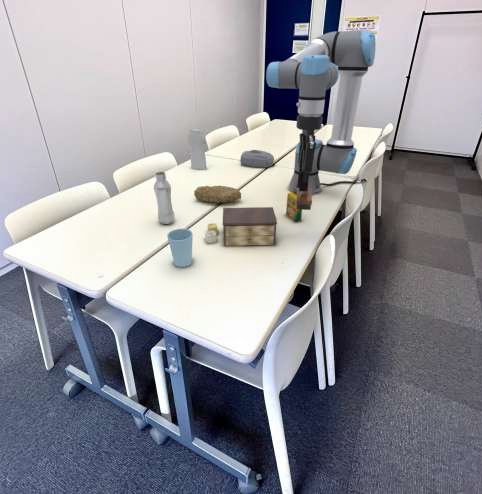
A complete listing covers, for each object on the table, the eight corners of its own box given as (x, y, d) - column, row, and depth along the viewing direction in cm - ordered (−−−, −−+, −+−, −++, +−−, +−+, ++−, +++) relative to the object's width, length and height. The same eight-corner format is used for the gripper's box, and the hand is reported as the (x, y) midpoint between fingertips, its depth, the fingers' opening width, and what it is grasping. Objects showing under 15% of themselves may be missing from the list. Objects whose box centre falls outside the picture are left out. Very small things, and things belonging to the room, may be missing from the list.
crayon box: (285, 215, 133) (287, 188, 127) (291, 213, 134) (293, 187, 128) (294, 222, 127) (297, 195, 121) (301, 221, 128) (304, 193, 122)
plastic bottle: (161, 227, 124) (154, 177, 114) (156, 220, 129) (149, 172, 119) (177, 223, 127) (171, 174, 116) (172, 217, 132) (166, 169, 121)
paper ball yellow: (207, 223, 120) (207, 231, 121) (207, 228, 117) (208, 235, 118) (216, 222, 120) (216, 230, 122) (217, 227, 117) (217, 234, 119)
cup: (166, 261, 104) (162, 233, 98) (186, 253, 108) (183, 226, 102) (178, 272, 99) (175, 243, 93) (199, 263, 103) (197, 235, 98)
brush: (310, 197, 115) (313, 160, 108) (311, 210, 106) (314, 170, 99) (296, 197, 116) (298, 160, 109) (295, 209, 107) (298, 170, 100)
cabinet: (271, 228, 123) (272, 207, 118) (276, 246, 111) (277, 223, 107) (223, 229, 123) (223, 207, 118) (223, 247, 111) (222, 224, 106)
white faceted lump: (204, 231, 114) (205, 239, 116) (207, 236, 111) (207, 244, 113) (214, 229, 115) (214, 237, 117) (217, 234, 113) (217, 242, 114)
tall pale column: (189, 168, 187) (185, 129, 176) (192, 166, 190) (189, 127, 179) (205, 170, 184) (202, 130, 172) (208, 168, 187) (206, 129, 175)
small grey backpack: (238, 166, 190) (270, 170, 184) (237, 152, 185) (271, 155, 179) (246, 159, 202) (277, 162, 196) (246, 146, 197) (277, 148, 192)
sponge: (193, 204, 145) (229, 204, 135) (190, 187, 143) (228, 186, 133) (210, 200, 156) (245, 199, 146) (208, 183, 154) (244, 182, 144)
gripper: (293, 110, 103) (287, 181, 115) (302, 119, 89) (295, 198, 102) (316, 110, 103) (308, 181, 115) (329, 119, 90) (318, 197, 102)
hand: (302, 188), depth 108 cm, fingers closed on brush, 2 cm apart
